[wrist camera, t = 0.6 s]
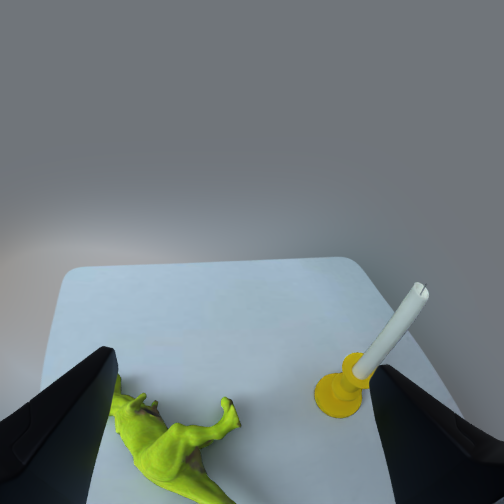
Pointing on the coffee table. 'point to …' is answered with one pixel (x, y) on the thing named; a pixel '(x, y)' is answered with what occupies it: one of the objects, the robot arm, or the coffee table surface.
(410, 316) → the candle
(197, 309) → the coffee table surface
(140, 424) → the dinosaur figurine
